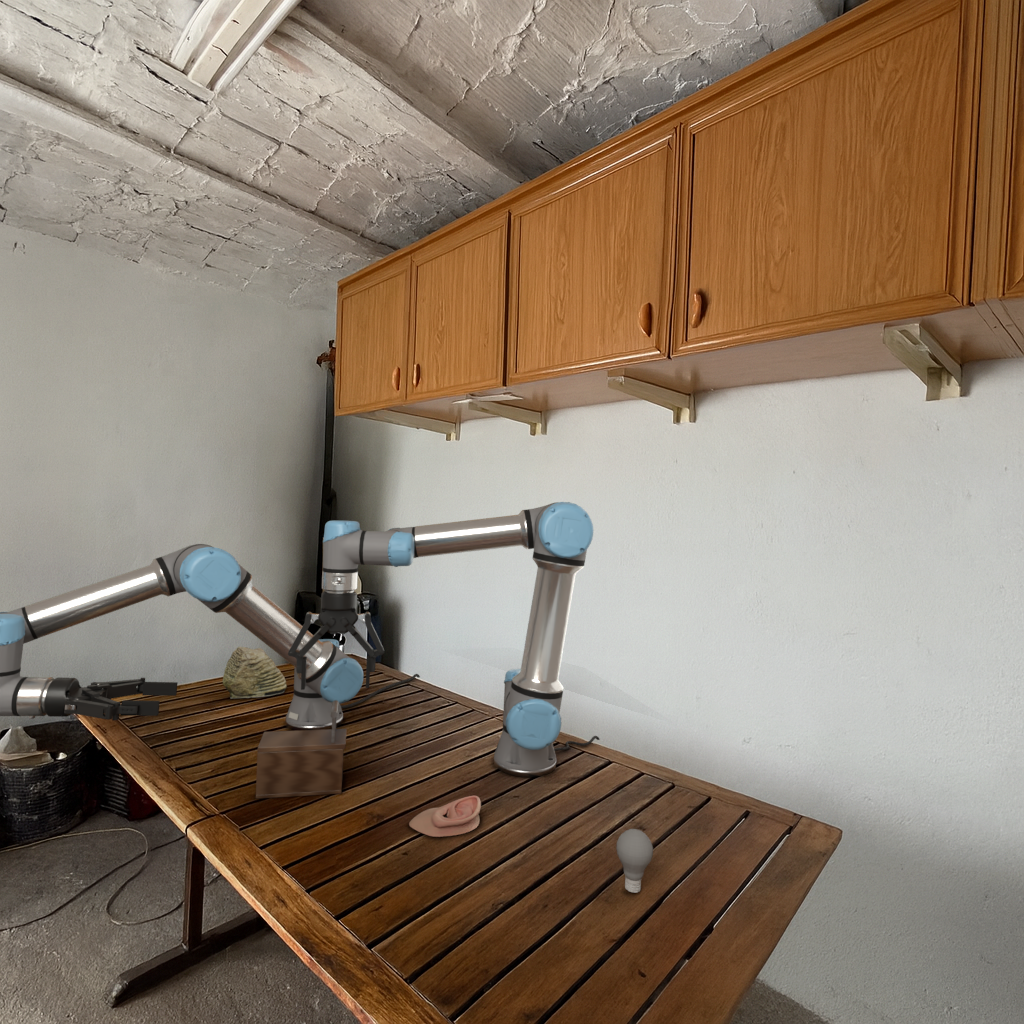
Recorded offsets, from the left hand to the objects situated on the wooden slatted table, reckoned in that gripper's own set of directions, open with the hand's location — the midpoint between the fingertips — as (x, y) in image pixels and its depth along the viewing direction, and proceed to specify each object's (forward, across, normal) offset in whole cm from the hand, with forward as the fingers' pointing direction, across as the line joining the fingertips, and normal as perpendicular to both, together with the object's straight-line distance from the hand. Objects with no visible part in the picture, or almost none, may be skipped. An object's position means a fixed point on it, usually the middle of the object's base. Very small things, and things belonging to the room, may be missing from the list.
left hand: (168, 698), depth 132 cm
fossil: (+10, -66, -18) cm, 70 cm away
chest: (+28, 0, -19) cm, 34 cm away
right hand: (+33, +1, +3) cm, 34 cm away
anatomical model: (+56, +21, -18) cm, 63 cm away
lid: (+28, +1, -9) cm, 29 cm away
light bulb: (+84, +48, -17) cm, 98 cm away
